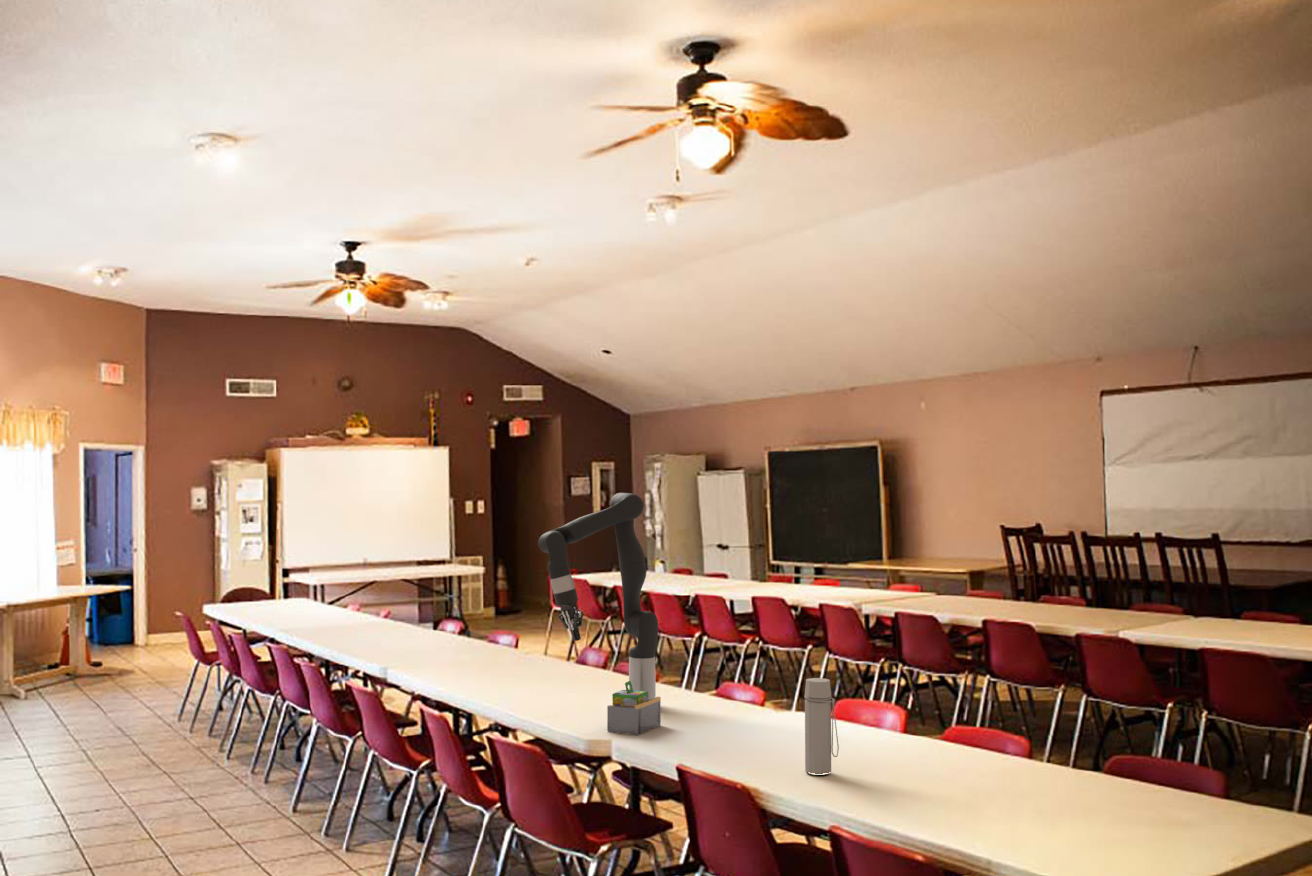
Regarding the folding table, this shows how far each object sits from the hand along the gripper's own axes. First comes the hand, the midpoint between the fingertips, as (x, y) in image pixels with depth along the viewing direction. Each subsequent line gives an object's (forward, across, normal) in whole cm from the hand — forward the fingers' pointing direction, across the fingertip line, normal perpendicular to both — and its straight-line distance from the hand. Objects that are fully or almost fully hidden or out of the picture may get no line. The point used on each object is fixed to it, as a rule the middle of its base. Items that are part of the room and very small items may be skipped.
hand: (577, 640), depth 382 cm
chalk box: (+30, -19, 0) cm, 36 cm away
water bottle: (+44, -95, -8) cm, 105 cm away
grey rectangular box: (+30, -20, 0) cm, 36 cm away
